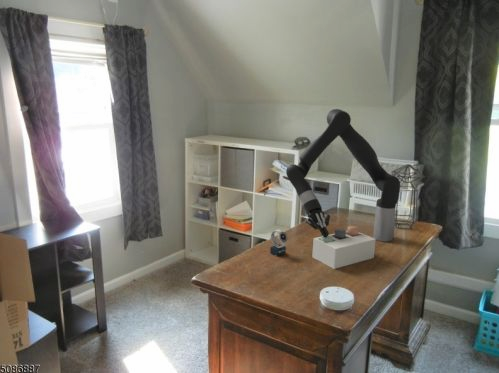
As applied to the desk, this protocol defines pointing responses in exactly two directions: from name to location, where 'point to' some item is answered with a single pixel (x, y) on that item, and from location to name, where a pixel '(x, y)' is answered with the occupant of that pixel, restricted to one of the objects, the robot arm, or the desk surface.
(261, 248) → the desk surface
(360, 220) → the desk surface
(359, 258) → the button console
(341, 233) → the charcoal button
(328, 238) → the sage button
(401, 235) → the desk surface
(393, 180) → the robot arm
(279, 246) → the watch
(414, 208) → the geometric lantern
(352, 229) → the terracotta button
